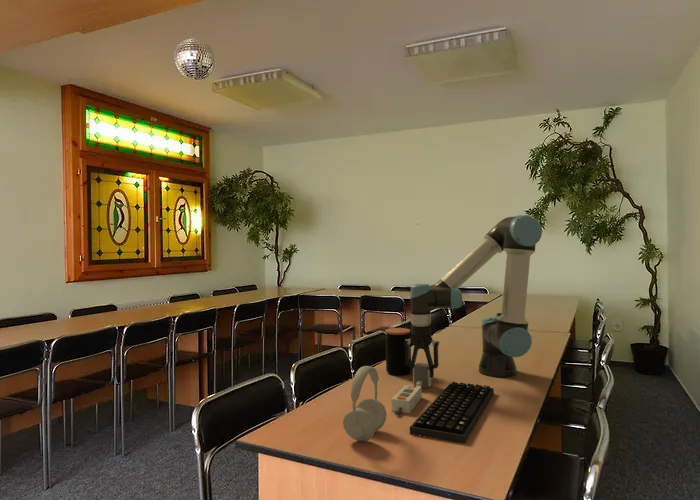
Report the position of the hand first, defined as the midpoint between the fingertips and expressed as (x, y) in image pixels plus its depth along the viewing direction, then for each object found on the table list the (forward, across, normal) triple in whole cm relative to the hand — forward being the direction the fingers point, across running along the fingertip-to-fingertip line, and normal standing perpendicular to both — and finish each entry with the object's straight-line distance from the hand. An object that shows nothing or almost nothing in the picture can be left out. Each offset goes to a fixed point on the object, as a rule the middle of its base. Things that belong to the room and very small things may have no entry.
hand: (422, 384), depth 179 cm
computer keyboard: (+1, -17, +23) cm, 28 cm away
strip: (0, 0, +23) cm, 23 cm away
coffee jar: (+1, +14, -15) cm, 21 cm away
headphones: (+1, +4, +50) cm, 50 cm away
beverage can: (+1, -20, -108) cm, 110 cm away
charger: (0, 0, +2) cm, 2 cm away
